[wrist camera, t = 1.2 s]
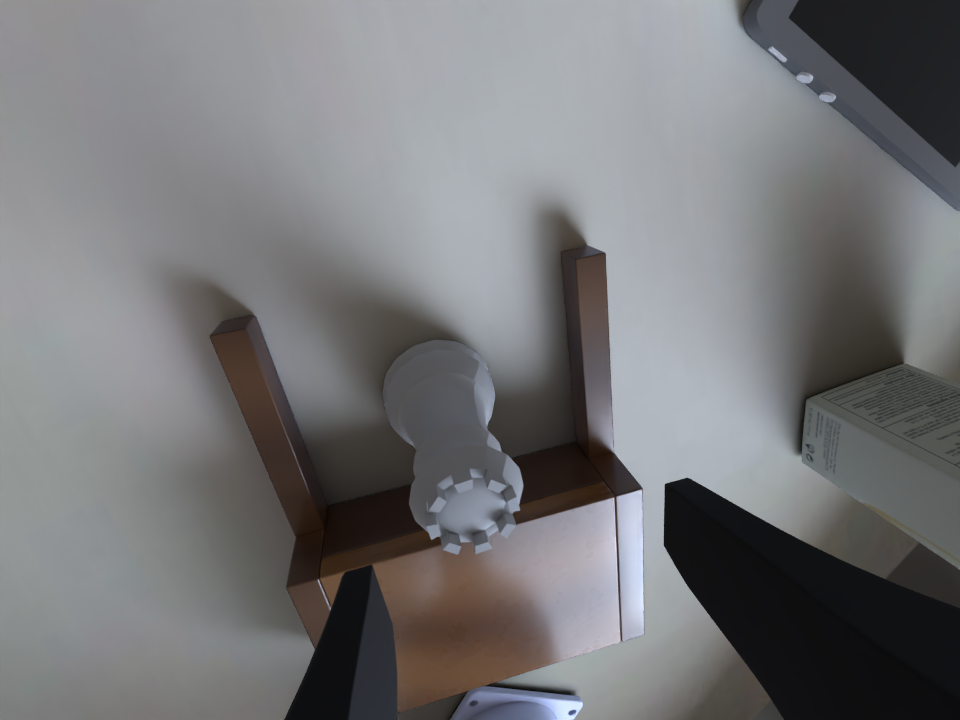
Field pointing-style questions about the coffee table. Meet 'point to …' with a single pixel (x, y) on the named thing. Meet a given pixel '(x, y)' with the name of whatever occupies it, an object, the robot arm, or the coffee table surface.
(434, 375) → the rook chess piece
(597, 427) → the brown u-shaped piece
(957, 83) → the smartphone
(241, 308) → the coffee table surface
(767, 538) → the robot arm
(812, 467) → the cosmetic box
